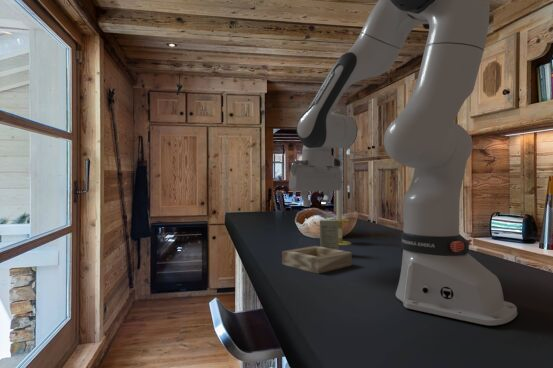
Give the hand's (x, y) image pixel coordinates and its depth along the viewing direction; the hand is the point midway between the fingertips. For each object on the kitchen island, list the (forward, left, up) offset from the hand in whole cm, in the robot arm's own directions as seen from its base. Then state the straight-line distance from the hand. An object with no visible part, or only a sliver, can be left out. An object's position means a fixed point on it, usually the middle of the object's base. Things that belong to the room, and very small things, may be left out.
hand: (316, 206), depth 108 cm
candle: (+20, -35, -18) cm, 44 cm away
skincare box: (+8, -15, -18) cm, 25 cm away
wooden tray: (0, 0, -18) cm, 18 cm away
